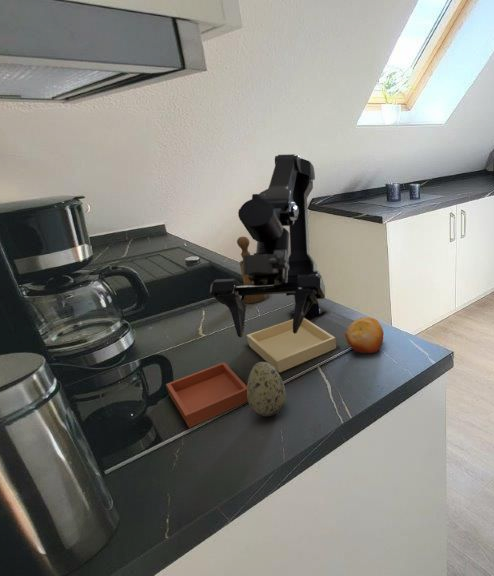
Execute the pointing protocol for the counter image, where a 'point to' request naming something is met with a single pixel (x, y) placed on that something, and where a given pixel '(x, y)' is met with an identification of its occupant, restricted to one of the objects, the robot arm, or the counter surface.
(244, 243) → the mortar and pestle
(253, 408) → the decorative egg
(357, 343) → the fruit
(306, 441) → the counter surface
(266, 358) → the sand tray
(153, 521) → the counter surface
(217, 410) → the terracotta tray
